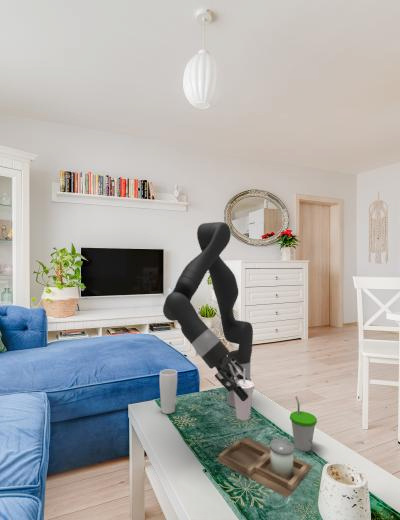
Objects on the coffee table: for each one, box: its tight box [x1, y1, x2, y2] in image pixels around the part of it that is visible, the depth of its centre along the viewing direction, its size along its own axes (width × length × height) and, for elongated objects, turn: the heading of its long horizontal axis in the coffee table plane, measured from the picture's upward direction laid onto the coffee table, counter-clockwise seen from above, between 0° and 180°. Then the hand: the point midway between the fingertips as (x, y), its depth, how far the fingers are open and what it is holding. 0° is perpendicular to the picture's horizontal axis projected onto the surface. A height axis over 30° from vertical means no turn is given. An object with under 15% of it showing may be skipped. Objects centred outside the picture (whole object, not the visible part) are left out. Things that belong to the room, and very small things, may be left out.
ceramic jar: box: [269, 438, 295, 479], centre depth 88 cm, size 6×6×7 cm
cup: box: [289, 395, 318, 453], centre depth 99 cm, size 8×8×15 cm
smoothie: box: [233, 369, 256, 421], centre depth 93 cm, size 6×6×14 cm
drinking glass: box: [159, 368, 178, 415], centre depth 124 cm, size 7×7×15 cm
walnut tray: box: [215, 436, 314, 499], centre depth 91 cm, size 16×22×3 cm
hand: (248, 394), depth 92 cm, fingers closed on smoothie, 6 cm apart
